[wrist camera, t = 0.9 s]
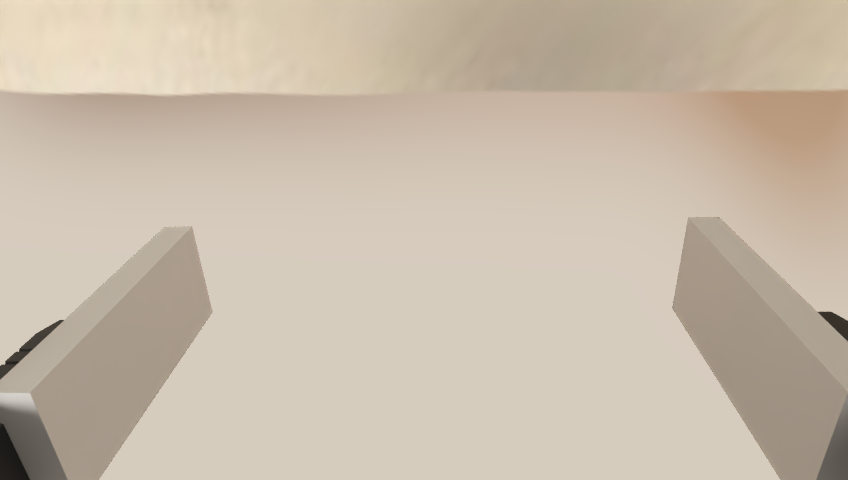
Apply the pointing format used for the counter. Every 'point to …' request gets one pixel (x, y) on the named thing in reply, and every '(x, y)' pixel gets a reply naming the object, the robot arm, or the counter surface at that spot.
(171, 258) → the robot arm
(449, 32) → the counter surface
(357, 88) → the counter surface
